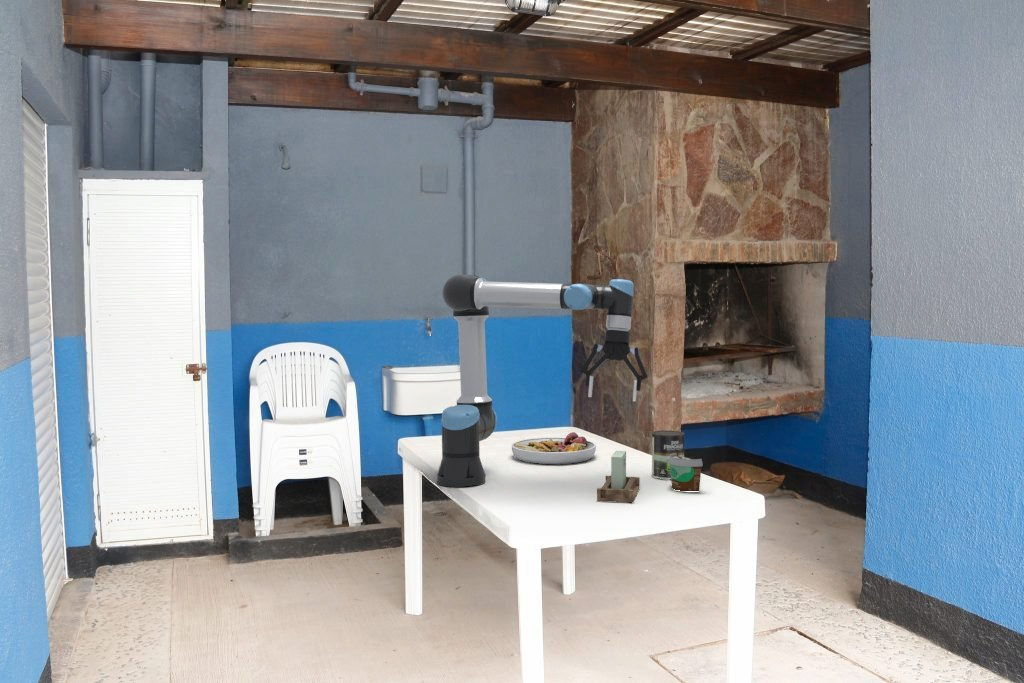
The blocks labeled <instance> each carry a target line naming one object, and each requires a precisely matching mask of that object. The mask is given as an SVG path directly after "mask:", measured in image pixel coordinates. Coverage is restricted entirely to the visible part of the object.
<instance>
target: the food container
mask: <svg viewBox="0 0 1024 683" xmlns="http://www.w3.org/2000/svg"><path fill="white" fill-rule="evenodd" d="M702 460H703V459H702V458H696V459H695V458H690V457H686V456H684V457H679V456H677V454H676V453H672V454H670V456H669V458H668V463H669V464H670V470H671V480H670V483H671V489H672V488H673V489H675V490H680V491H699V492H700V488H701V486H700V485H701V477H702V476H701V474H702V467H703V464H704V463H703V461H702ZM673 489H672V490H673Z"/></svg>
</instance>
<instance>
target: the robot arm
mask: <svg viewBox="0 0 1024 683" xmlns="http://www.w3.org/2000/svg"><path fill="white" fill-rule="evenodd" d="M634 286H635V284H634V282H633V281H631V280H629V279H622V278H617V279H616V278H615V279H611V280H609V283H608V285H601V284H598V285H597V284H589V283H586V284H585V283H549V282H548V283H547V282H517V281H516V282H515V281H514V282H513V281H512V282H511V281H488V280H486V279H485V278H484V277H482V276H480V275H476V274H455V275H453V276H451V277H449V278H447V280H446V281H445V283H444V284H443V288H442V299H443V301H444V303H445V305H446V306H447V307H448V308H449V309H451V310H452V317H453V318H454V320H456V321H457V324H458V326H457V330H458V331H457V332H458V349H459V350H458V352H459V373H460V374H459V376H460V396H459V398H457V399H456V404H455V405H453V406H452V405H451V406H447V407H446V408H445V409H443V411H442V413H441V419H440V422H441V423H440V424H441V450H442V451H441V456H442V457H441V460H440V464H439V467H438V470H437V474H436V484H438V485H439V486H444V487H450V488H464V487H463V486H470V487H473V486H472V485H477V486H479V485H478V484H481V483H483V484H485V483H486V473H485V470H484V469H485V468H484V467H483V464H482V461H481V458H480V456H481V455H480V442H481V441H484V440H487V439H488V438H489V437H490V436H491V435H492V434H493V433H494V431H495V430H496V429H497V425H498V417H497V413H496V410H494V408H493V399H492V398H491V397H490V396H489V394H488V382H487V380H488V379H487V376H488V375H487V374H488V373H487V352H486V350H487V349H486V348H487V347H486V330H485V328H486V327H485V322H486V320H487V319H488V318H489V317H490V312H489V310H490V309H489V308H490V307H496V308H498V307H500V308H526V309H527V308H529V309H553V310H554V309H556V310H558V309H559V310H574V311H582V310H604V311H606V310H607V311H606V323H605V327H606V328H607V329H606V330H605V334H604V343H603V345H600V344H597V343H594V344H593V348H592V351H591V353H590V355H589V356H588V358H587V359H586V361H585V362H584V364H583V366H582V367H581V370H580V373H582V374H584V375H585V377H586V378H585V386H587V387H588V395H587V396H588V398H592V397H593V387H594V375H592V374H594V373H595V372H596V371H597V370H598V369H599V367H601V365H603V364H604V363H605V362H606V361H607V360H610V361H617V362H618V361H619V362H620V361H623V362H624V363H625V364H626V366H627V367H628V369H630V371H631V372H632V375H633V376H634V377H635V378H636V379H634V382H633V392H632V394H633V395H632V402H637V394H638V392H637V391H639V392H640V391H641V388H642V381H643V380H646V379H648V376H649V375H648V373H647V371H646V369H645V366H644V364H643V360H642V359H641V355H640V349H639V347H630V340H631V339H630V338H631V337H630V336H631V333H630V330H631V326H632V314H633V305H634V291H635V290H634ZM601 350H602V351H603V353H604V354H603V356H601V358H599V359H598V361H596V362H595V363H594V364H593V366H591V367H590V365H591V364H592V362H593V360H594V359H595V358H596V355H597V354H598V353H600V352H601ZM630 353H631V354H632V355H634V358H635V361H636V363H637V365H638V368H639V370H640V372H641V375H640V373H639V372H638V371H637V369H636V367H635V366H634V365H633V363H632V362H631V360H630V359H629V358H628V356H629V354H630ZM589 367H590V368H589ZM588 369H589V370H588ZM484 482H485V483H484ZM481 485H482V484H481Z"/></svg>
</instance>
